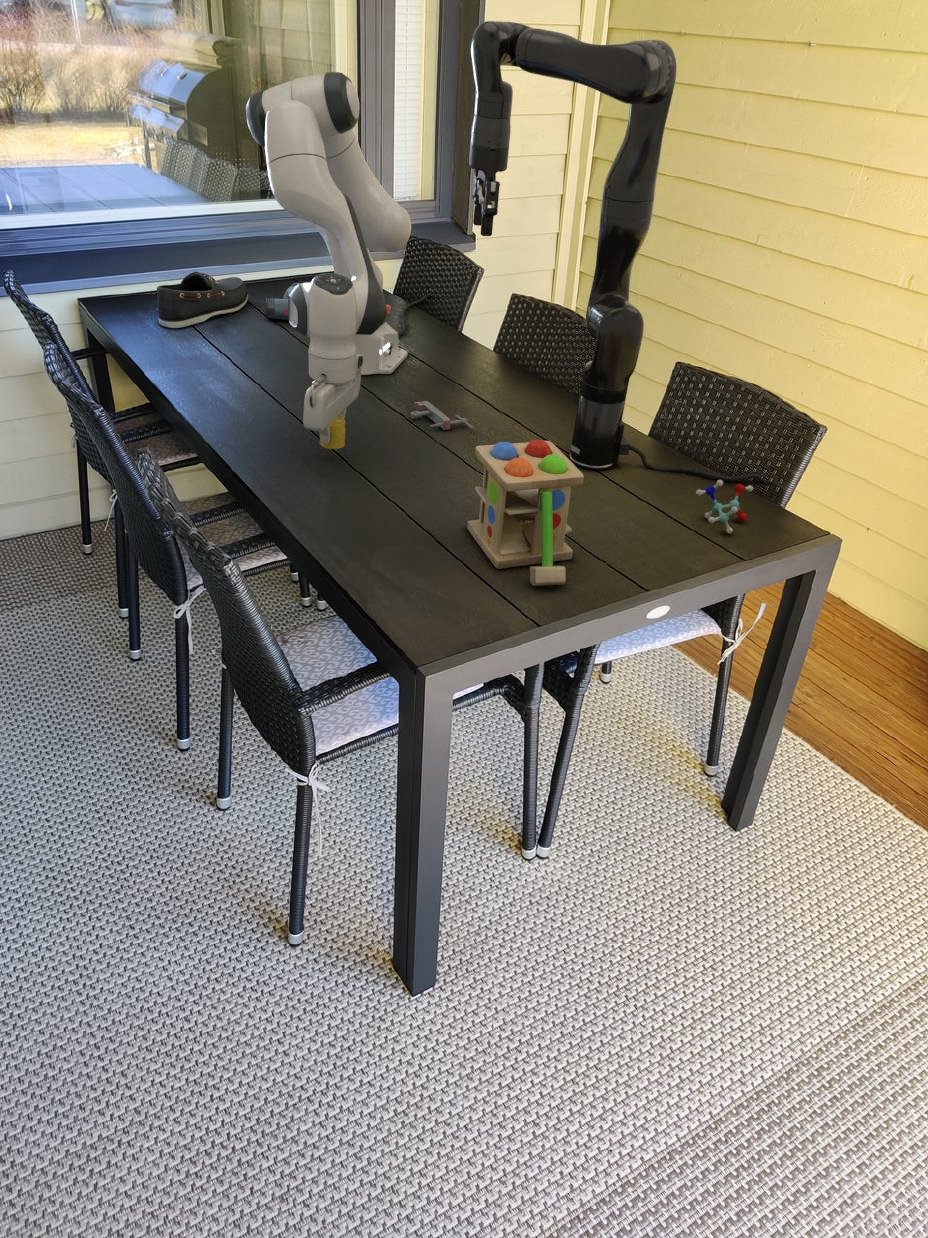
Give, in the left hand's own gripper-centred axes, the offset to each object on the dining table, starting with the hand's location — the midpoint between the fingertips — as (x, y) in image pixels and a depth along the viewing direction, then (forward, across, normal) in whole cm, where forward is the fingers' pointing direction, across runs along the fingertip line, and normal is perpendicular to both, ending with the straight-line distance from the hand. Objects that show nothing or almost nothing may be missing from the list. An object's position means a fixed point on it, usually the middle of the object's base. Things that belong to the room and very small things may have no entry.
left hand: (331, 435), depth 190 cm
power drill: (+5, +82, +41) cm, 92 cm away
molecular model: (+5, +6, -75) cm, 76 cm away
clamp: (+5, +27, -14) cm, 31 cm away
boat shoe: (+5, +69, +64) cm, 94 cm away
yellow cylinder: (+2, 0, 0) cm, 2 cm away
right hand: (-34, +36, -18) cm, 52 cm away
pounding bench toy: (+5, -21, -44) cm, 49 cm away
